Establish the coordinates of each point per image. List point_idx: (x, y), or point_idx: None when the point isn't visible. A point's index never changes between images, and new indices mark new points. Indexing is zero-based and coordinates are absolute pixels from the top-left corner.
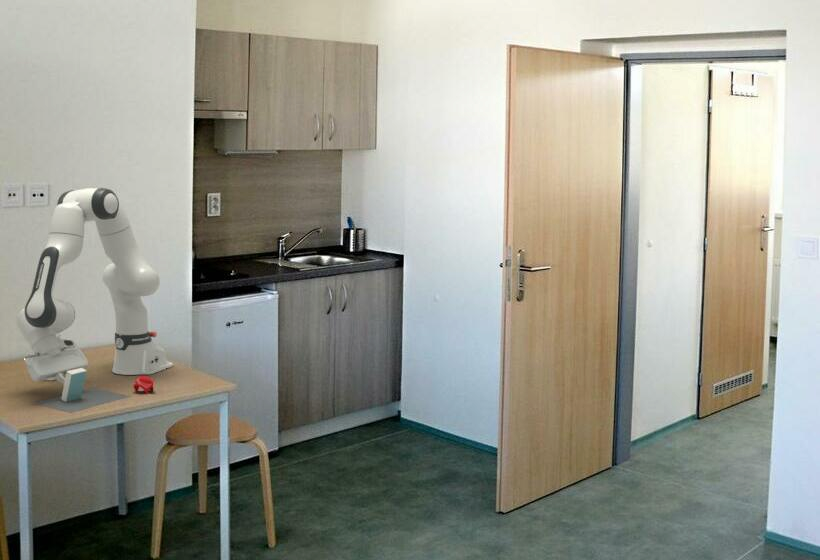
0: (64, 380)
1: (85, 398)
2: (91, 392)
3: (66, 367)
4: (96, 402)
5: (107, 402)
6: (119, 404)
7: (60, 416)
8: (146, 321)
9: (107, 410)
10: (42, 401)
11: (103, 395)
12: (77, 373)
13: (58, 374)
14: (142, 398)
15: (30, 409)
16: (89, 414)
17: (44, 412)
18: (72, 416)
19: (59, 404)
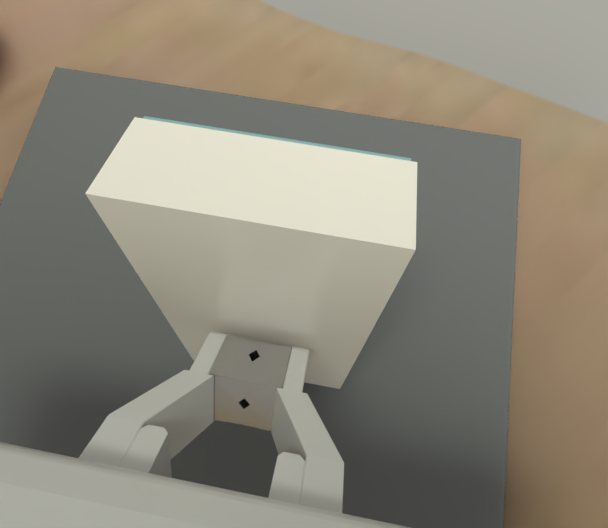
0: (301, 396)
1: None
2: (45, 345)
3: (125, 510)
4: None
5: (233, 98)
6: (208, 53)
7: (575, 177)
8: None
9: (340, 38)
10: (420, 520)
11: (93, 218)
12: (310, 142)
13: (340, 497)
14: (49, 21)
15: (583, 474)
16: (451, 69)
17: (575, 324)
18: (534, 120)
19: (418, 333)
